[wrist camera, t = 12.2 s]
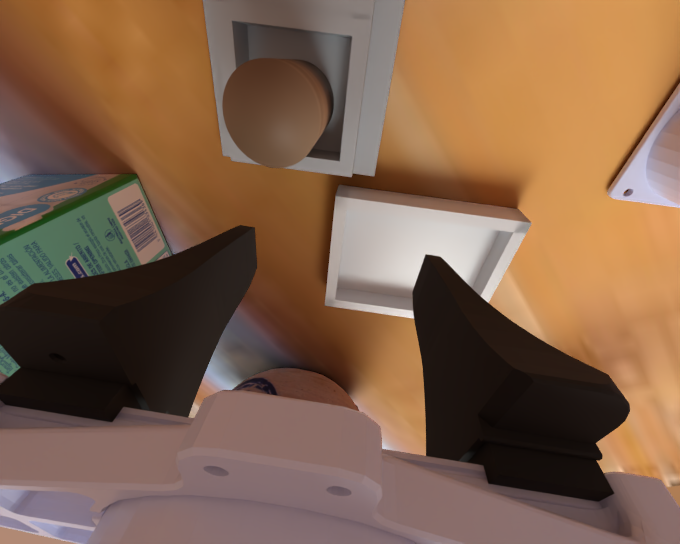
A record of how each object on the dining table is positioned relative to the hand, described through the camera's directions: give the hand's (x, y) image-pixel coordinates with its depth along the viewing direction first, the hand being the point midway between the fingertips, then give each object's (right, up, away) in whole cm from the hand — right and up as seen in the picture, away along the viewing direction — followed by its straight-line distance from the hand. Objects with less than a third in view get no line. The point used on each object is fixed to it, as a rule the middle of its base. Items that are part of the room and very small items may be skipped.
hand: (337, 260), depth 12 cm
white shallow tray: (+6, +1, +11) cm, 12 cm away
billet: (-2, +9, +4) cm, 11 cm away
